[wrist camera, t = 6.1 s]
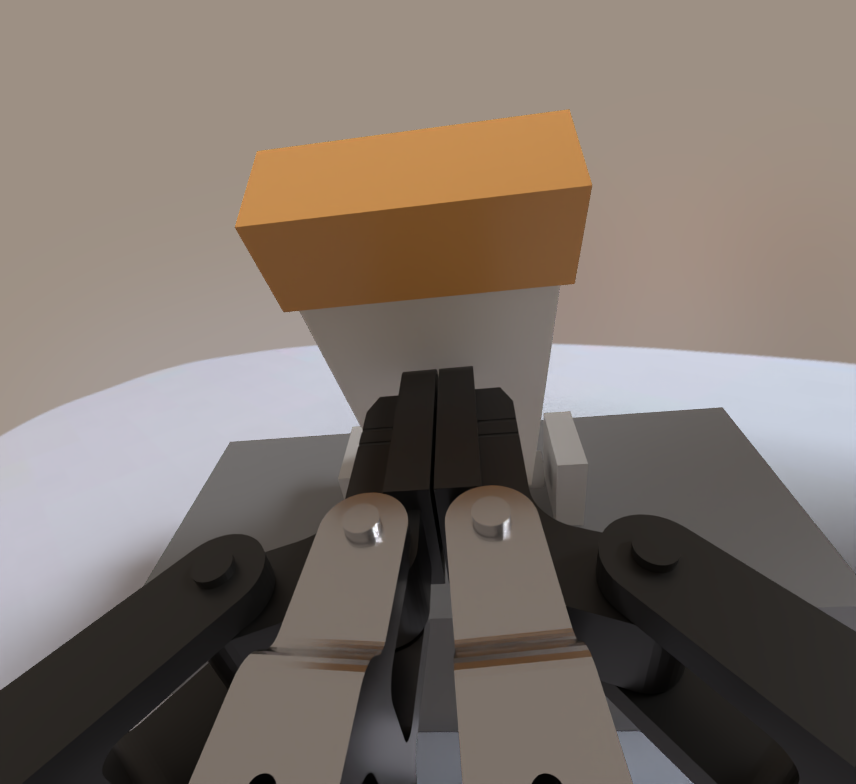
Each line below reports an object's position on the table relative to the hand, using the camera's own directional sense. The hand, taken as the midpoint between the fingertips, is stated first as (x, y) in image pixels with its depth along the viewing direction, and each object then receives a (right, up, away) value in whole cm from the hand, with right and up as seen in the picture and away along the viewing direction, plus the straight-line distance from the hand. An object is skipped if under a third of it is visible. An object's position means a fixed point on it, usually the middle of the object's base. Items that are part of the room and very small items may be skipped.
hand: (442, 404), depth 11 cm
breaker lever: (+1, -3, +8) cm, 9 cm away
